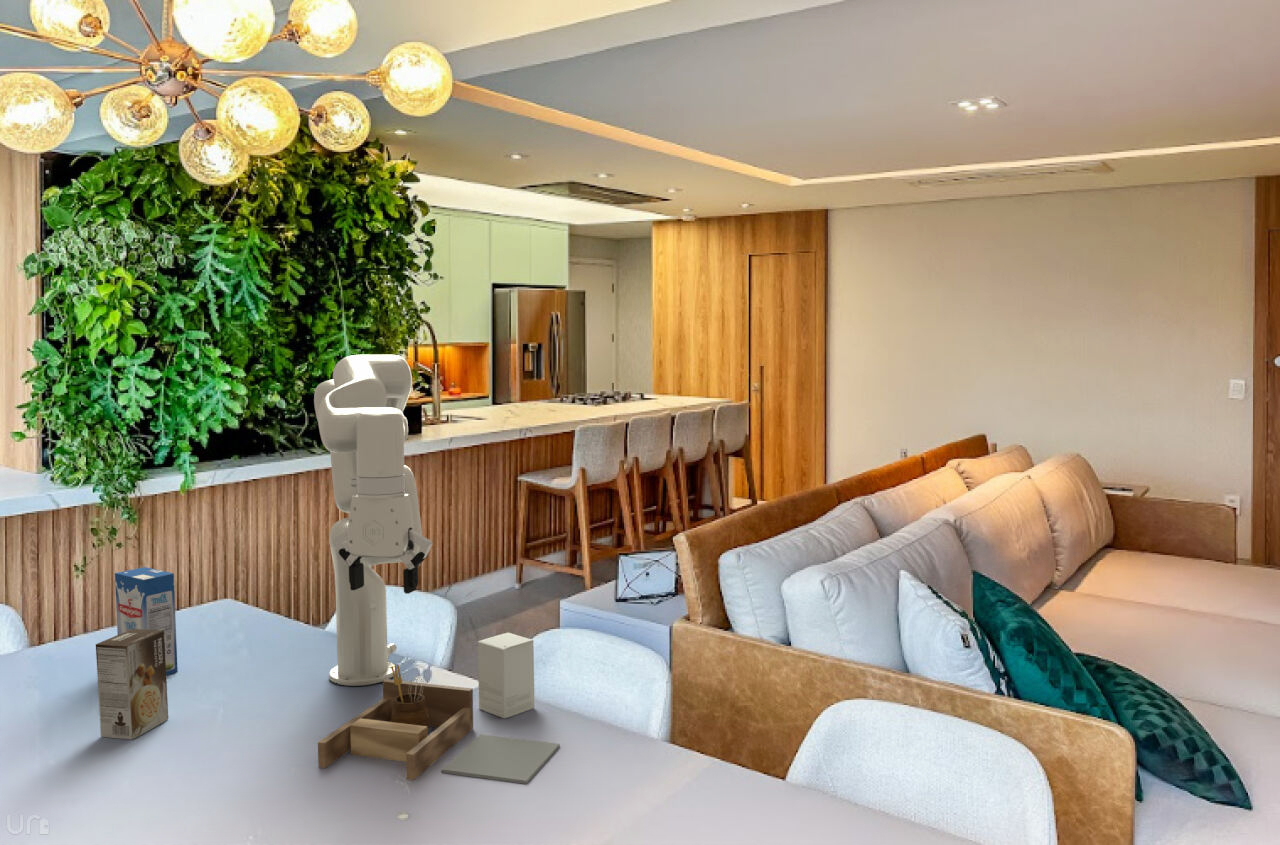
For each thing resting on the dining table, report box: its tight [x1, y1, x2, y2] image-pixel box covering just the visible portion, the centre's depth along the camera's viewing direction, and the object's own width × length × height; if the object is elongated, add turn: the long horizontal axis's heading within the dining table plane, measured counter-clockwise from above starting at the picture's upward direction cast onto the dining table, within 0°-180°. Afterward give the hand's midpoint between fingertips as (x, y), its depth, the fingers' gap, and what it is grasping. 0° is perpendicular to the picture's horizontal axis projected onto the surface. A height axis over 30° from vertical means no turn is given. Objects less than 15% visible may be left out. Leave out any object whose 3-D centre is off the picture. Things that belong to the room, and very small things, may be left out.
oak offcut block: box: [350, 718, 429, 763], centre depth 158 cm, size 3×12×5 cm, turn 74°
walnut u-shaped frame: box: [317, 678, 474, 781], centre depth 161 cm, size 21×16×7 cm
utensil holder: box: [390, 664, 429, 733], centre depth 164 cm, size 6×6×12 cm
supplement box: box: [477, 632, 535, 719], centre depth 177 cm, size 7×7×13 cm
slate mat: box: [441, 733, 561, 785], centre depth 157 cm, size 14×14×1 cm
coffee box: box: [95, 629, 169, 741], centre depth 168 cm, size 9×6×16 cm
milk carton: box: [114, 566, 179, 677], centre depth 196 cm, size 10×6×20 cm, turn 58°
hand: (383, 590), depth 163 cm, fingers open, 9 cm apart
